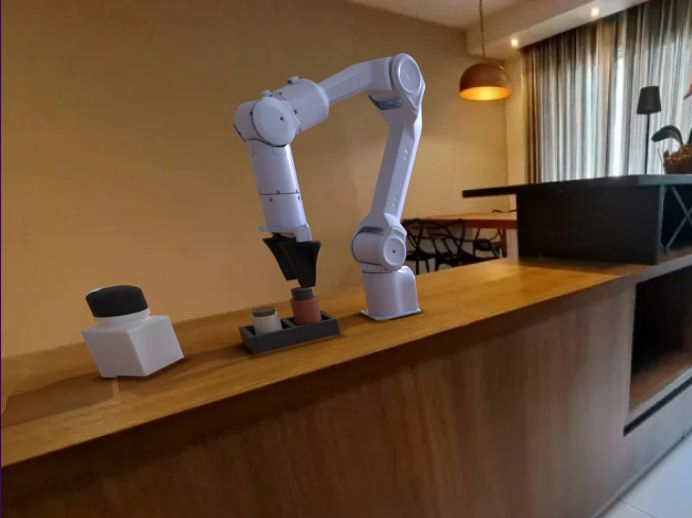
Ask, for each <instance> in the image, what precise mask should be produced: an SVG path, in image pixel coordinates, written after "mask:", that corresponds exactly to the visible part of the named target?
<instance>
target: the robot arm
mask: <svg viewBox="0 0 692 518" xmlns="http://www.w3.org/2000/svg"><path fill="white" fill-rule="evenodd" d="M285 82H286V84H287V85H284V86H282V87H280V88H277V89H276V90H274V91H270V90H269V89H266V90H263V91H260V93H259V96H260V97H261V98H260V99H256V100H252V101H247V102H243V103H241V104H240V105H239V106H238V107H237V109H236V110H237V111H235V112H234V122H233V123H232V127H233V130H234V132H235V134H236V135H237V137H238V138H239V139H240V141H242V142H243V143H244V144H245V146H246V149H247V152H248V157H249V162H250V166H251V169H252V173H253V178H254V182H255V185H256V189H257V193H258V197H259V201H260V205H261V209H262V213H263V217H264V221H265V225H258V226H257V228H258V231H259V232H267V233H269V235H271V237H264V238H262V242H263V243H264V244H265V246H267V248H268V249H269V251H270V252H271V254H272V255H273V257H274V259H275V260H276V263H277V265H278V267H279V269H280V272H281V274H282V275H283V277H284V279H285V280H286V281H287V282H290V281H296V280H297V283H298V285H299V287H301V288H309V287H311V288H315V287H316V286H317V265H318V256H319V253H320V249H321V247H322V242H321V240H313V237H312V233H311V232H312V231H311V228H310V225H309V223H308V222H307V219H306V213H305V209H304V204H303V200H302V195H301V191H300V185H299V181H298V180H299V179H298V177H297V172H296V171H297V170H296V166H295V163H294V158H293V152H292V148H291V143H292V142H293V141H294V139H295V136H298V135H299V134H301V133H303V132H305V131H306V130H309V129H311V128H313V127H314V126H316V125H318V124H320V123H322V122H324V121H326V120H327V119H328V116H329V113H330V107H332V106H334V105H336V104H338V103H340V102H343V101H345V100H347V99H349V98H352V97H354V96H357V95H358V94H359V95H360V96H361V97H367V99H368V100H369V101H370V103H371V105H372V106H373V107H374V109H375V110H376V111H377V113H378V114H379V115H380V117H381V118H382V120H383V121H384V122H385V123H386V124H387V126H388V134H387V137H386V142H385V147H384V150H383V155H382V159H381V162H380V167H379V172H378V175H377V180H376V185H375V188H374V193H373V197H372V201H371V206H370V210H369V213H368V214H366V215H365V216H364V217H363V218H362V219H361V220H360V221H359V224H358V227H357V230H356V231H355V233H354V234H353V235H352V237H351V239H350V242H349V252H350V256H351V257H352V258H353V260H354V261H355V262H356V263H358V267H359V269H360V270H361V272H360V273H361V279H362V285H363V289H364V296H365V301H366V308H367V309H364V310H361V311H359V312H360V313H361V314H364V315H366V316H368V317H370V318H372V319H373V320H377V321H380V320H384V319H387V320H392V319H396V318H400V317H404V316H408V315H412V314H418V313H421V308H419V302H418V301H419V299H418V291H417V283H416V278H415V275H414V272H413V270H412V269H411V268H410V267H409V266H407V265H403V264H404V263H405V260H406V259H407V247H406V239H407V235H408V233H407V231H406V229H405V228H404V226H403V225H402V224H401V219H402V218H401V217H402V213H403V209H404V206H405V202H406V198H407V193H408V189H409V184H410V180H411V176H412V171H413V169H414V164H415V159H416V155H417V151H418V147H419V143H420V139H421V135H422V129H423V117H422V102H423V98H424V93H425V90H426V83H425V81H424V77H423V75H422V73H421V70H420V67H419V65H418V63H417V62H416V60H415V59H414V58H413V57H412V56H410V54H407V53H403V52H402V53H398V54H396V55H395V56H386V57H382V58H381V57H380V58H377V59H376V58H375V59H372V60H367V61H363V62H359V63H354V64H352V65H350V66H348V67H346V68H344V69H342V70H340V71H339V72H336V73H334V74H333V75H331V76H329V77H327V78H326V79H324V80H321V81H319V82H318V83H316V82H314V81H312V80H310V79H308V78H304V77H302V78H299V77H298V76H297V75H295V76H292V77H289V78H287V79H285Z"/></svg>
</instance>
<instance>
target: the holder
mask: <svg viewBox="0 0 692 518" xmlns="http://www.w3.org/2000/svg"><path fill="white" fill-rule="evenodd" d="M320 314H321V318H322V321H319V322H314V323H309V324H305V325H300V326H296V324H295V320H294V316H286V317H282V318H280V320H281V324H282V328H283V329H282V330H277V331H273V332H268V333H263V334H259V335H256V333H255V330H254V326H253V323H252V324H249V325H248V324H247V325H242V326H238V331H239V335H240V339H241V341H242V343H243V344H244V345H245V346H246V347H247V349H248V350H250V351H251V352H252V354H254V355H256V354H260V353H264V352H269V351H272V350H276V349H281V348H285V347H290V346H294V345H298V344H302V343H306V342H310V341H315V340H319V339H323V338H327V337H332V336H335V335H340V334H341V331H340V325H339V320H338V318H337V317H335V316H333V315H331V314H329V313H328V312H325V311H323V310H320Z"/></svg>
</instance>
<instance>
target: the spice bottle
mask: <svg viewBox="0 0 692 518" xmlns="http://www.w3.org/2000/svg"><path fill="white" fill-rule="evenodd" d="M312 288H313V287H309V288H301V286H298V287H297V286H296V287H293V288H291V289H290V293H291V297H292V298H289V303H290V307H291V311H292V315H293V316H294V320H295V324H296V326H300V325H305V324H309V323H314V322H319V321H322V318H321V314H320V311H321V310H320V309H321V308H320V304H319V300H318V296H316V295H314V292H313V289H312Z"/></svg>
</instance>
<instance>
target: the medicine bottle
mask: <svg viewBox="0 0 692 518" xmlns="http://www.w3.org/2000/svg"><path fill="white" fill-rule="evenodd" d="M84 299H85V302H86V304H87V306H88V308H89V310H90V312H91V315H92V317H93V319H94V321H95V322H96V323H98V324H95V325H92V326H88V327H86V328H83V329H81V330H80V334H81V336H82V338H83V340H84V342H85V344H86V347H87V349H88V351H89V353H90V355H91V357H92V359H93V362H94V363H95V366H96V368H97V370H98V372H99V374H100V376H101V377H102V378H106V379H118V376H121V377H122V376H124V377H125V376H126V377H128V376H129V377H145V376H146V377H147V376H149V375H151V374H153V373H155V372H157V371H159V370H162V369H163V368H165V367H167V366H170V365H172V364H173V363H175V362H177V361H179V360H181V359H184V358H185V356H184V353H183V351H182V349H181V346H180V343H179V340H178V337H177V335H176V333H175V330H174V327H173V324H172V322H171V319H170V317H169V316H168V315H149V314H151V310H150V308H149V305H148V302H147V300H146V297H145V295H144V292H143V290H142V288H140V287H139V286H135V285H131V284H119V285H110V286H104V287H99V288H94V289H92V290H91V291H88V293H86V294H85V296H84Z"/></svg>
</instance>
